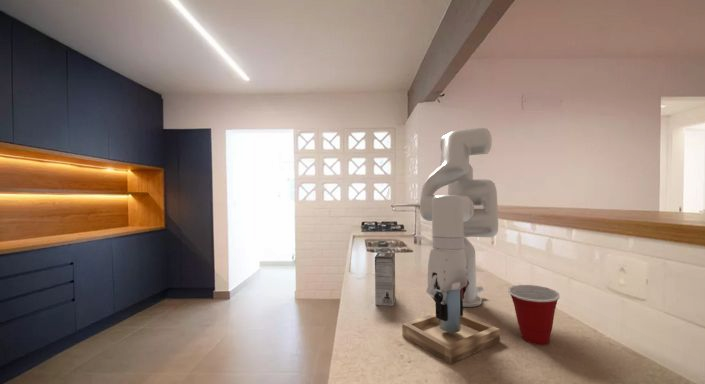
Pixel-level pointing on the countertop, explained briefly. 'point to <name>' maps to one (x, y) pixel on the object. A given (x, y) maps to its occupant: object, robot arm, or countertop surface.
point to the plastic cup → (534, 311)
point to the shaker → (452, 310)
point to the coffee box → (385, 278)
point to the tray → (451, 337)
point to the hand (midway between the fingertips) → (449, 315)
